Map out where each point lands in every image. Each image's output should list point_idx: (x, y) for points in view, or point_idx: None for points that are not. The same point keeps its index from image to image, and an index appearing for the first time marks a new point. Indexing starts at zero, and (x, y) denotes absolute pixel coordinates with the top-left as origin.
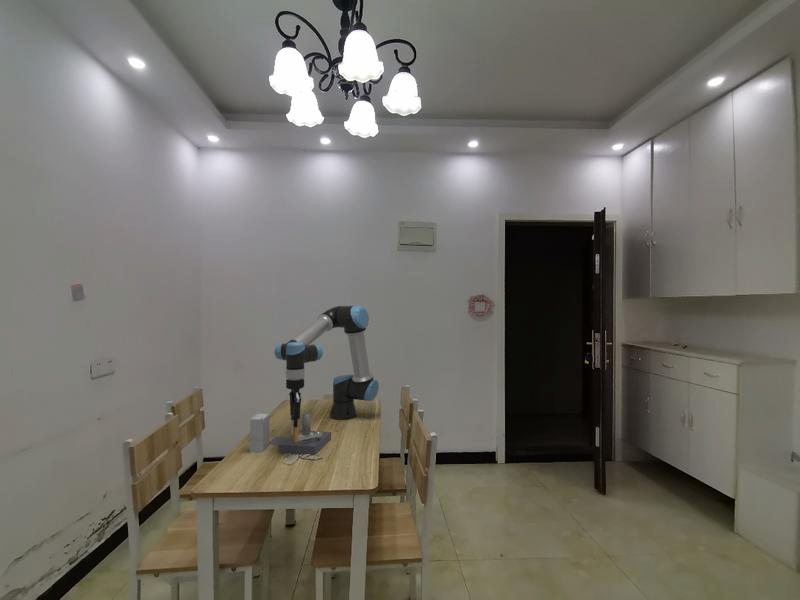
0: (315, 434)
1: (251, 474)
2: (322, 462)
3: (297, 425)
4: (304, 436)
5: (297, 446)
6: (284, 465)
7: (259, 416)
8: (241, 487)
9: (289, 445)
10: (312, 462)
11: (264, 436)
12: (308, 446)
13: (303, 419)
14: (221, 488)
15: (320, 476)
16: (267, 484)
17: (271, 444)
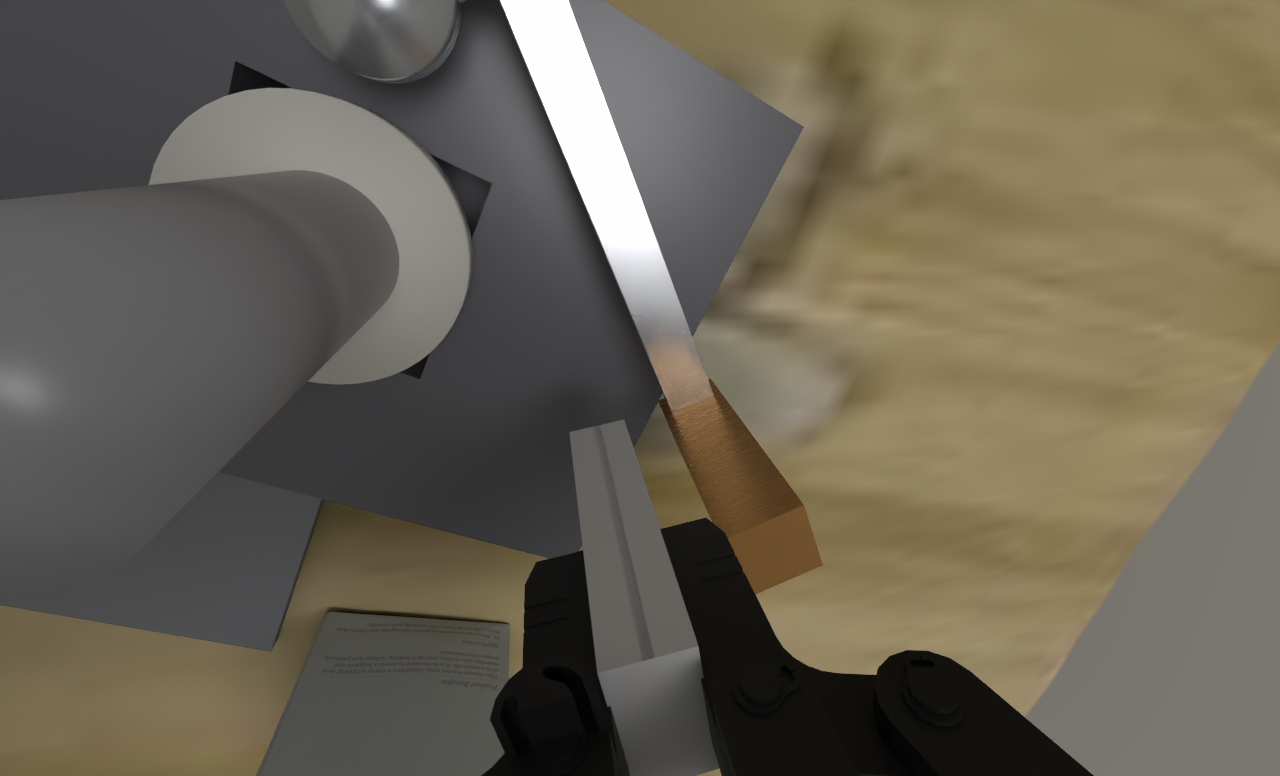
0: (561, 75)
1: (911, 611)
2: (961, 54)
3: (726, 539)
4: (632, 303)
5: None
6: (859, 431)
7: None
8: (1058, 620)
9: None
10: (908, 174)
11: (465, 764)
12: (752, 222)
13: (242, 445)
14: (1011, 696)
15: (1245, 123)
16: (1110, 503)
17: (289, 600)
